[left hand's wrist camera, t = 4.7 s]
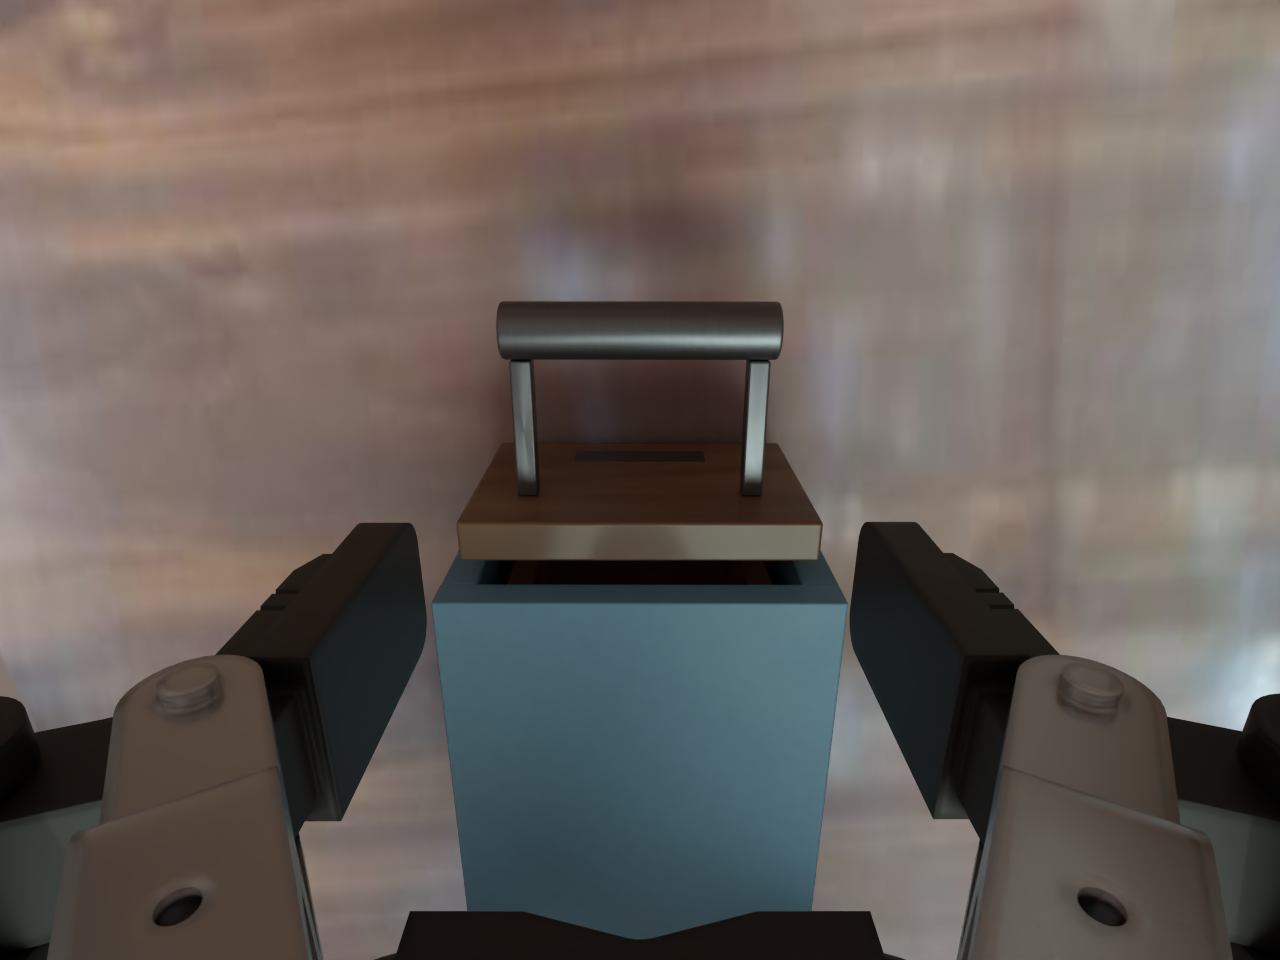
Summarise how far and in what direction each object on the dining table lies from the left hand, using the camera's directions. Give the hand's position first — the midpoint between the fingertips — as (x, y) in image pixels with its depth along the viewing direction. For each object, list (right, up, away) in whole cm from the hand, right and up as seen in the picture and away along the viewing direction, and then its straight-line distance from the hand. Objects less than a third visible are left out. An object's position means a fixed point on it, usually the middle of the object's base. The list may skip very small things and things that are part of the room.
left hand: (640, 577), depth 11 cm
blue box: (0, -8, +20) cm, 22 cm away
